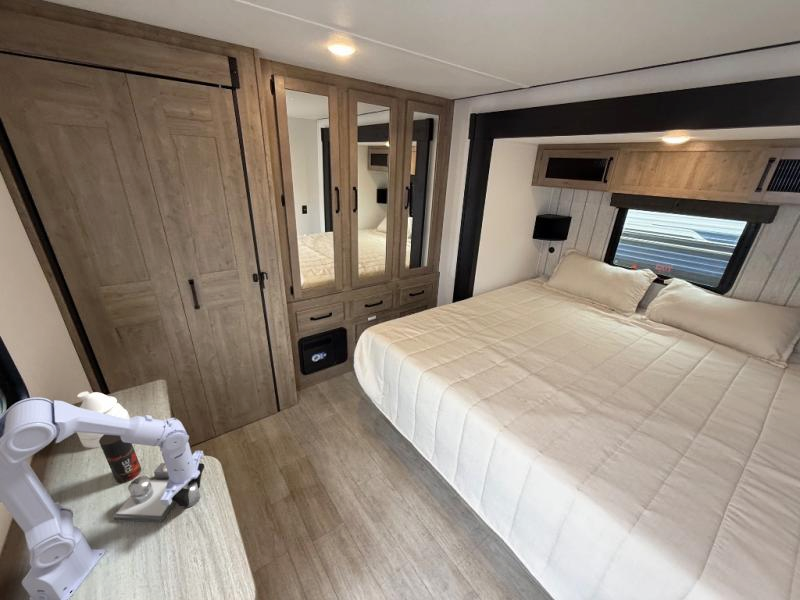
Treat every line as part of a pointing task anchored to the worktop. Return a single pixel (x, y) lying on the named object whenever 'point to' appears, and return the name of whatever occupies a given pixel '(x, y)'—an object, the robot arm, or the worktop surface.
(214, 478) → the worktop surface
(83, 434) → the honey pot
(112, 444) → the deodorant
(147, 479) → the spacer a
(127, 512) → the scale
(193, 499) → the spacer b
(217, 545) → the worktop surface
